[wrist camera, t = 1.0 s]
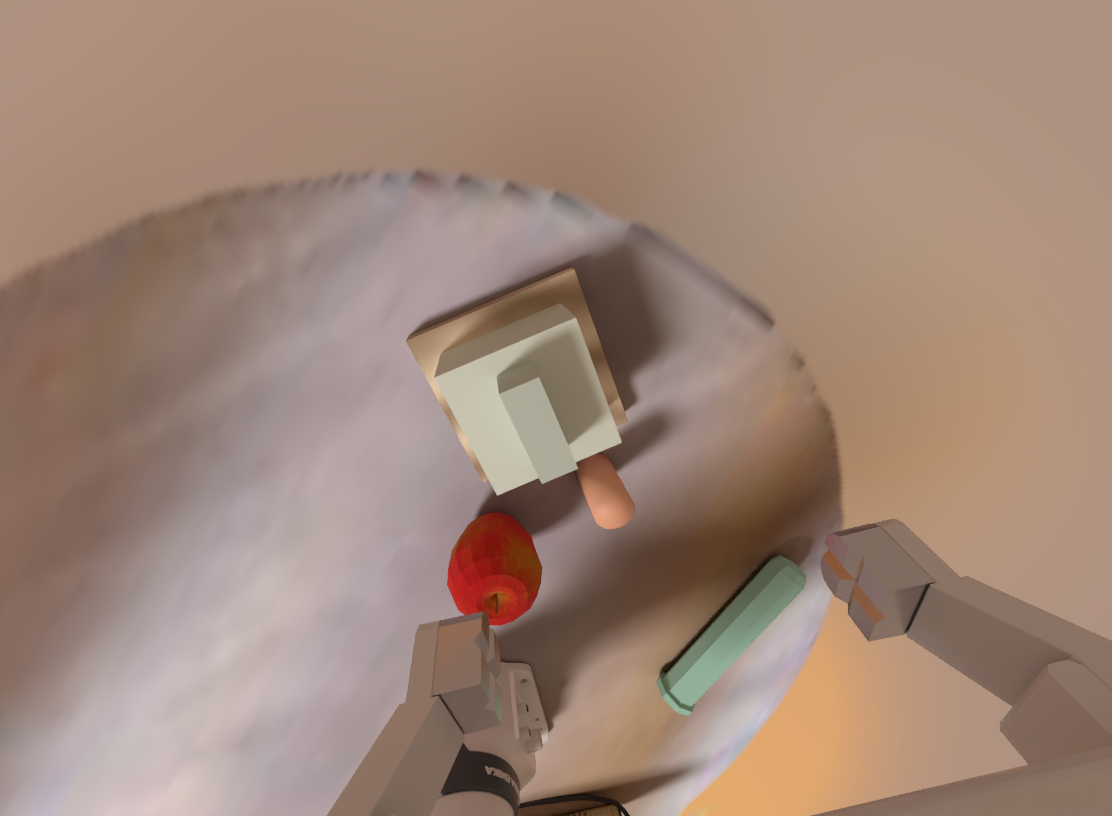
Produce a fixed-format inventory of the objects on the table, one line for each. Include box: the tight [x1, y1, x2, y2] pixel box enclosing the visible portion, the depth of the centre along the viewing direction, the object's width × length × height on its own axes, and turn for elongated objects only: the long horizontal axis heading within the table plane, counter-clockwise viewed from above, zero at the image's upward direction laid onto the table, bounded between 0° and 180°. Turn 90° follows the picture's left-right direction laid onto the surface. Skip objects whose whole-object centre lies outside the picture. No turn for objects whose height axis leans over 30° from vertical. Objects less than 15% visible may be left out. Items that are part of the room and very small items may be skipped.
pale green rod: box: [656, 555, 806, 716], centre depth 60 cm, size 6×6×25 cm
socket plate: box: [406, 267, 628, 483], centre depth 43 cm, size 16×16×4 cm
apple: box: [447, 513, 542, 625], centre depth 45 cm, size 9×9×12 cm
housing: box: [434, 303, 622, 496], centre depth 38 cm, size 12×12×11 cm
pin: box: [576, 453, 635, 529], centre depth 46 cm, size 4×4×8 cm
